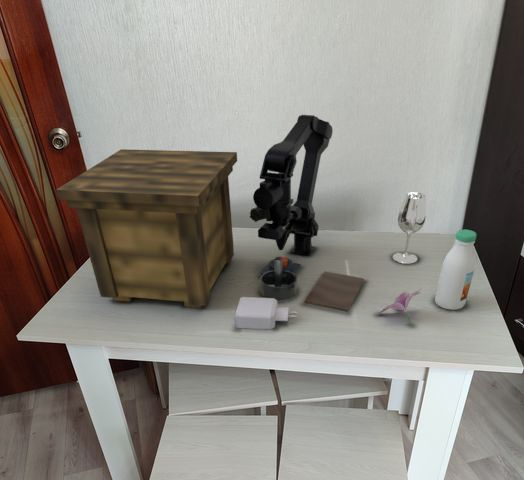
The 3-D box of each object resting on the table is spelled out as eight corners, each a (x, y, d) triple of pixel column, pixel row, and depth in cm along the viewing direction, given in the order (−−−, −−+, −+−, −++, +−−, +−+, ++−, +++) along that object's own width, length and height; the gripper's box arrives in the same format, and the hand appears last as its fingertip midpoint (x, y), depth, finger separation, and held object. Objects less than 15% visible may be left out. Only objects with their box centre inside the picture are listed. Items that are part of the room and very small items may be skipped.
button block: (273, 262, 148) (273, 253, 146) (300, 267, 145) (300, 258, 143) (260, 276, 141) (260, 267, 139) (288, 282, 138) (288, 273, 136)
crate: (212, 318, 124) (198, 195, 104) (91, 307, 130) (56, 189, 110) (243, 258, 151) (236, 152, 131) (141, 252, 157) (120, 149, 137)
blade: (267, 284, 136) (266, 253, 130) (290, 284, 135) (290, 253, 129) (266, 296, 131) (265, 264, 125) (289, 296, 130) (290, 264, 124)
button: (277, 260, 143) (277, 255, 142) (289, 262, 142) (289, 257, 141) (272, 266, 141) (272, 260, 140) (284, 268, 139) (284, 263, 138)
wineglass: (390, 262, 146) (399, 198, 134) (394, 251, 151) (403, 189, 139) (416, 265, 143) (427, 201, 131) (419, 255, 149) (431, 192, 137)
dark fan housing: (269, 281, 139) (269, 267, 136) (301, 287, 135) (302, 273, 132) (254, 297, 131) (254, 283, 129) (288, 304, 128) (288, 290, 125)
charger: (295, 332, 117) (236, 329, 119) (297, 312, 125) (242, 310, 126) (295, 316, 114) (235, 314, 116) (298, 297, 122) (241, 295, 124)
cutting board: (324, 274, 141) (325, 271, 140) (364, 282, 136) (364, 278, 136) (304, 304, 128) (304, 300, 127) (346, 313, 124) (347, 309, 123)
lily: (424, 312, 125) (413, 278, 122) (438, 320, 113) (427, 283, 111) (380, 327, 126) (369, 294, 124) (390, 337, 115) (378, 301, 113)
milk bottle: (449, 313, 122) (467, 241, 110) (428, 300, 127) (443, 230, 115) (471, 305, 125) (491, 234, 112) (449, 292, 130) (466, 223, 118)
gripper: (267, 183, 138) (268, 233, 148) (239, 205, 125) (242, 258, 135) (302, 187, 135) (301, 238, 144) (277, 210, 121) (278, 265, 131)
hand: (280, 249), depth 138 cm, fingers closed
